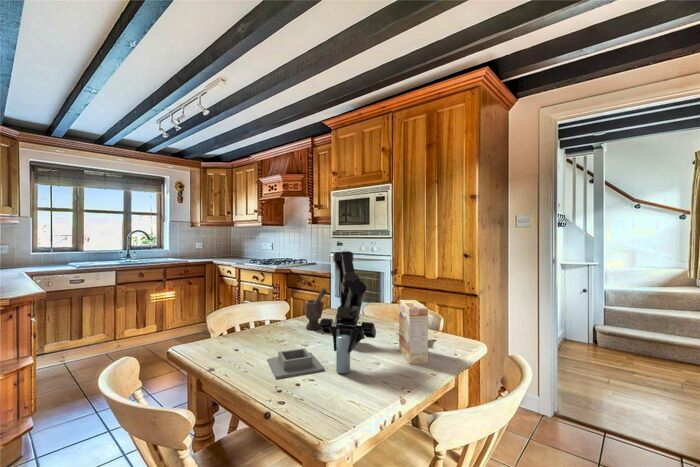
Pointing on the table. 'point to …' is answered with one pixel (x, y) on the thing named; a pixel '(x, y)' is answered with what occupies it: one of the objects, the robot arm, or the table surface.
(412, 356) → the coffeecake box
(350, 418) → the table surface
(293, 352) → the grey square socket base
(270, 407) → the table surface
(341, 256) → the robot arm
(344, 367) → the pale blue rounded cylinder
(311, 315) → the mortar and pestle
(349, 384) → the table surface
